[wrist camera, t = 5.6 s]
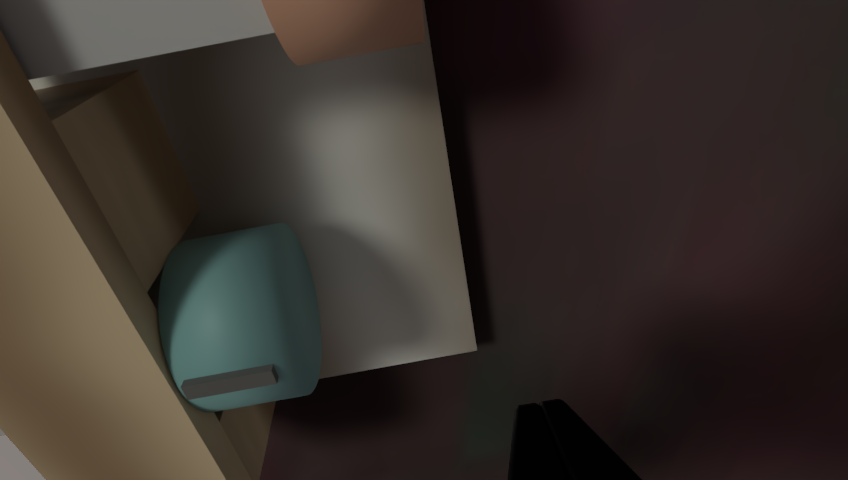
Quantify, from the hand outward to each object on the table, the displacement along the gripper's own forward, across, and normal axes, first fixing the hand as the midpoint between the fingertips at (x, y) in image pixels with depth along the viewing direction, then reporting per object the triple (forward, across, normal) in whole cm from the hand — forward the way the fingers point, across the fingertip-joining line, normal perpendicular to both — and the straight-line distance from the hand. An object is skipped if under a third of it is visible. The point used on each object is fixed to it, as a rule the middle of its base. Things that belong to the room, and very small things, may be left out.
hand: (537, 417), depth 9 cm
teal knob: (+7, +10, 0) cm, 12 cm away
